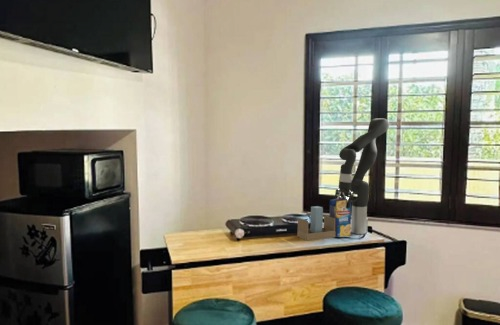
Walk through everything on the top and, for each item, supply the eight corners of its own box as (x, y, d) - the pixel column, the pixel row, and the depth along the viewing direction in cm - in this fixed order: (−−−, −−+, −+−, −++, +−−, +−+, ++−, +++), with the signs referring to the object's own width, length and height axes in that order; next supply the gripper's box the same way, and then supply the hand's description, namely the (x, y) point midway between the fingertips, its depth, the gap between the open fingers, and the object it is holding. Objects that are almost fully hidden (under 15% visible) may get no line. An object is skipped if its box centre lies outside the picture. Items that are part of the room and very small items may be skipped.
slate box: (316, 235, 228) (317, 206, 227) (322, 237, 224) (322, 207, 223) (310, 236, 226) (311, 206, 225) (315, 238, 222) (316, 208, 221)
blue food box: (350, 235, 231) (351, 200, 230) (336, 237, 226) (336, 201, 225) (343, 233, 237) (343, 198, 236) (329, 235, 232) (329, 199, 232)
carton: (324, 234, 234) (324, 215, 233) (334, 238, 225) (335, 218, 224) (297, 237, 225) (297, 217, 224) (307, 241, 216) (307, 221, 215)
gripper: (358, 182, 227) (355, 209, 228) (342, 180, 240) (340, 205, 241) (348, 182, 224) (346, 209, 225) (333, 179, 237) (330, 205, 237)
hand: (343, 207), depth 233 cm, fingers open, 8 cm apart
